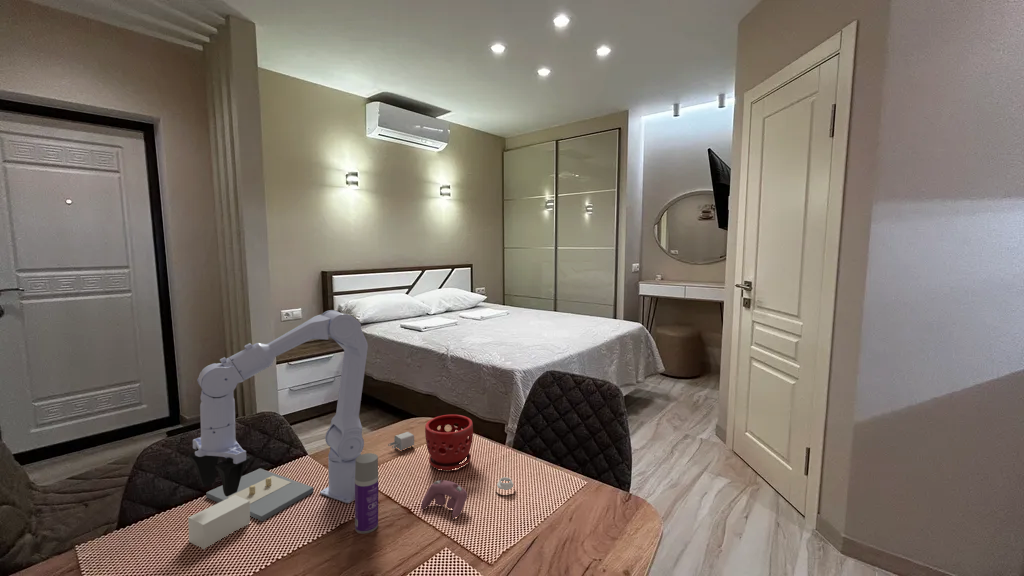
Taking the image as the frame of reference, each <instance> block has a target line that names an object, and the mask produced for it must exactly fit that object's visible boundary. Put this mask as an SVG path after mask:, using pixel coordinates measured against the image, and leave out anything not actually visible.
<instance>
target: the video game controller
mask: <svg viewBox="0 0 1024 576" xmlns="http://www.w3.org/2000/svg"><path fill="white" fill-rule="evenodd" d="M446 496H448V497H450V498H449V499H448V500H447V499H446ZM467 499H468V492H467V491H466V489H465V488H463V487H462V486H461V485H459V484H458V483H456V482H453V481H451V480H445V479H443V480H436V481H434V482H433V483H431V484H430V485H429V487H428V489H427V491H426V493H425V495H424V497H423V498H422V500H421V504H420V505H421V506H420V507H421V510H422V509H424V508H426V507H427V506H428V505H429V506H431V504H432V503H433V501H434V502H435V503H434V504H435V505H436V504H438V505H441V506H440V507H443V506H442V505H444V504H445V505H446V508H447V507H448V508H452V509H453V510H452V513H451V518H452V519H453V518H455V517H457V516H458V515H459V514H460V513H461V514H462V512H461V511H463V510H464V506H465V502H467ZM445 505H444V506H445ZM429 506H428V507H429ZM428 507H427V508H428ZM427 508H426V509H427ZM448 508H447V509H448ZM461 514H460V515H461ZM460 515H459V516H460Z"/></svg>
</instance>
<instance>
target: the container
mask: <svg viewBox="0 0 1024 576" xmlns="http://www.w3.org/2000/svg"><path fill="white" fill-rule="evenodd" d="M378 526H379V456H378V455H377V453H376V454H375V453H372V452H368V453H362V454H361V455H360V456H358V457H357V458H356V463H355V500H354V531H355V532H357V534H370V533H372V532H374V531H375V530H376V529H378Z"/></svg>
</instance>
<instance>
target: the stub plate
mask: <svg viewBox="0 0 1024 576" xmlns="http://www.w3.org/2000/svg"><path fill="white" fill-rule="evenodd" d="M312 492H313V493H314V487H313V486H310V485H309V484H306V483H302V482H300V481H298V480H294V479H291V478H288V477H286V476H284V475H283V476H282V475H280V474H277V473H274V472H272V471H269V470H265V469H264V468H261V467H260V468H258V469H255V470H254V471H251V472H249V473H246V474H244V475H242V476H241V479H240V483H239V487H238V490H237V492H236V493H234V494H232V495H229V496H225V495H224V492H223V485H220V486H217V487H216V488H213V489H211V490H209V491H207V492H205V494H206V495H205V496H206V498H207V499H208V500H211V501H214V502H215V503H219V502H221V501H223V500H226V499H228V498H230V497H232V496H234V495H237V496H239V497H241V498H244V499H246V500H249V501H250V516H251V517H250V518H252V517H253V518H252V519H254V518H255V519H254V520H256V519H258V520H257V521H259V520H260V521H259V522H261V521H262V522H263V521H265V520H267V519H269V518H270V517H272V516H274V515H276V514H277V513H280V512H282V511H283V510H284V509H286V508H289V507H290V506H291V505H293V504H295V503H297V502H298V501H301V500H303V498H306V497H307V496H309V495H311V494H312Z"/></svg>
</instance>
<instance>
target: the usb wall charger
mask: <svg viewBox="0 0 1024 576" xmlns="http://www.w3.org/2000/svg"><path fill="white" fill-rule="evenodd" d="M393 439H394V441H393V442H390V443H388V445H387V446H388V447H391V449H395V448H396V447H397V448H399V449H400V450H403V449H405V448H408V447H410V446H412V445H414V446H415V435H414V434H413V433H411V432H410V431H405V432H403V433H399V434H396V435H394V437H393Z"/></svg>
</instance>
